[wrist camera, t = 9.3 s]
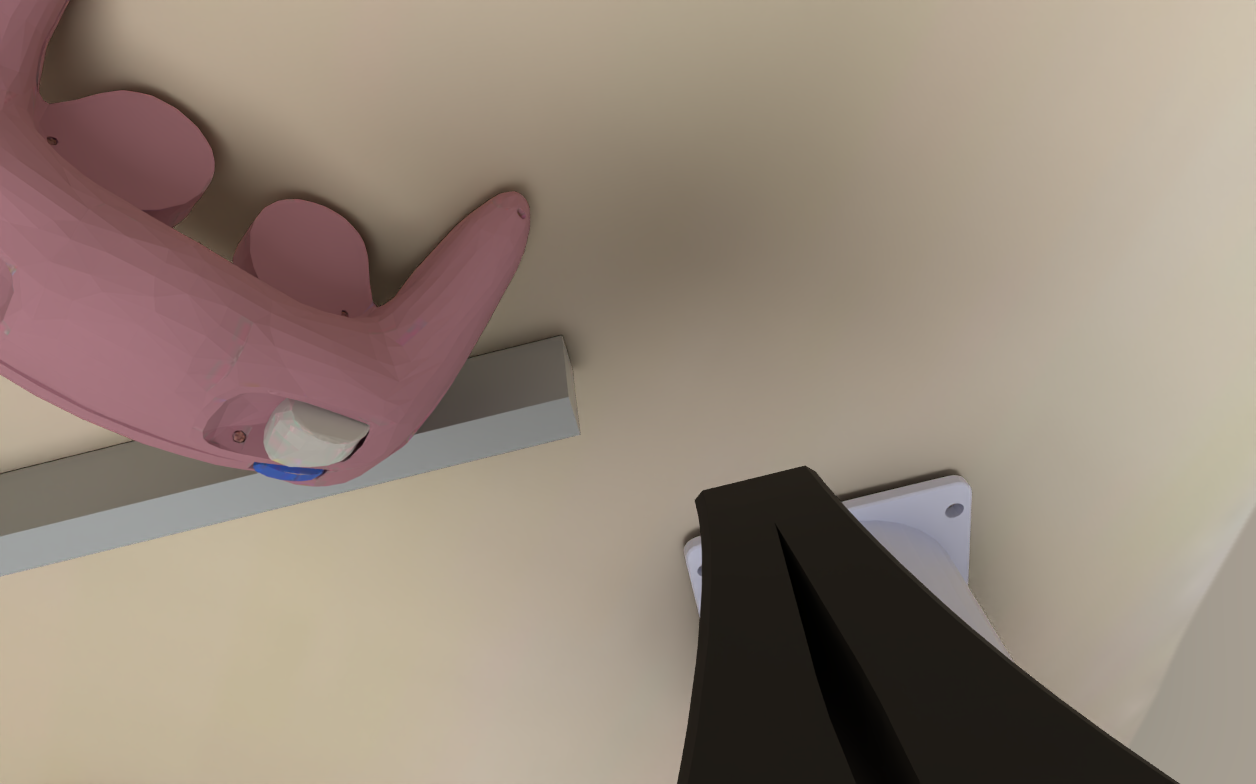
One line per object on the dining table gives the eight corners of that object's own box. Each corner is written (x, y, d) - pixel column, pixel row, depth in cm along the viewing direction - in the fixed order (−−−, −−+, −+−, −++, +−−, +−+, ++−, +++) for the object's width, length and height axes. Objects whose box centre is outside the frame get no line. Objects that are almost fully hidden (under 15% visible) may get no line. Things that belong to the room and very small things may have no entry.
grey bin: (573, 370, 19) (580, 434, 17) (-76, 530, 20) (-145, 612, 18) (256, -673, 10) (191, -801, 8) (-943, -342, 11) (-1291, -384, 9)
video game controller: (7, 8, 15) (-309, 278, 11) (43, -198, 12) (-377, 74, 8) (454, 297, 20) (341, 566, 16) (566, 200, 17) (460, 505, 13)
